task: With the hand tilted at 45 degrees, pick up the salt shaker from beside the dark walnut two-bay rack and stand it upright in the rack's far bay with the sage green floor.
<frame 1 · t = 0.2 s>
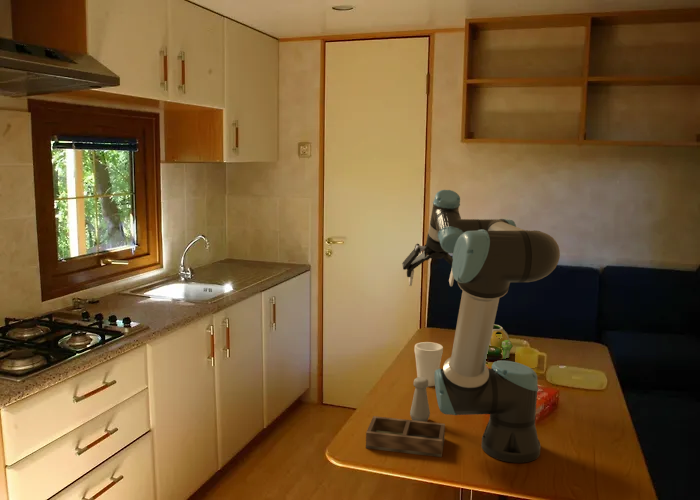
hand: (430, 283, 204), 35 cm above the table, tool tilted 35°, fingers open, 13 cm apart
foam cup: (427, 383, 210), on the table
turtle holder: (494, 358, 236), on the table
rack: (405, 443, 167), on the table
salt shaker: (419, 421, 181), on the table
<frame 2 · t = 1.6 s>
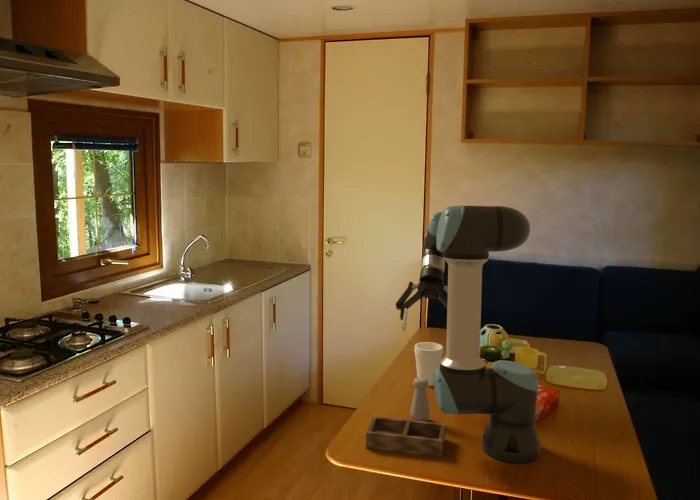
hand: (425, 330, 187), 24 cm above the table, tool tilted 45°, fingers open, 13 cm apart
nothing on the table moved.
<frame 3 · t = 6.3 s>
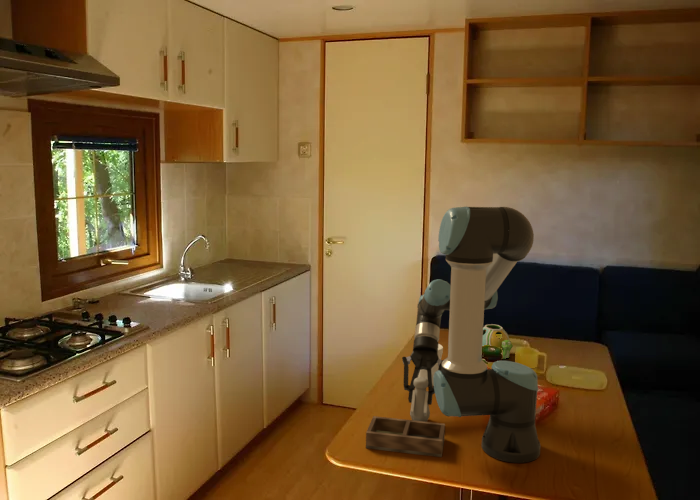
hand: (418, 413, 176), 4 cm above the table, tool tilted 45°, fingers closed on salt shaker, 3 cm apart
salt shaker: (419, 421, 181), on the table, touching gripper
everything else where it was.
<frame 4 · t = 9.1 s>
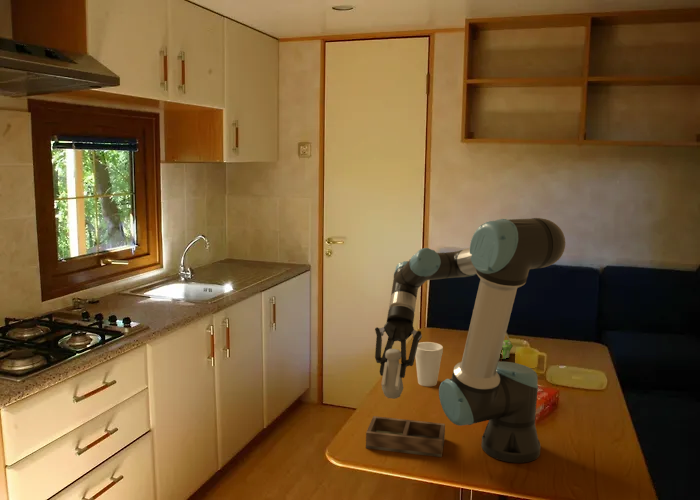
hand: (390, 387, 164), 16 cm above the table, tool tilted 45°, fingers closed on salt shaker, 3 cm apart
salt shaker: (392, 396, 168), point 12 cm above the table, touching gripper
everything else where it was.
when the fingers open (6 cm above the table, at t = 12.0 s): salt shaker drops 1 cm, resting on rack.
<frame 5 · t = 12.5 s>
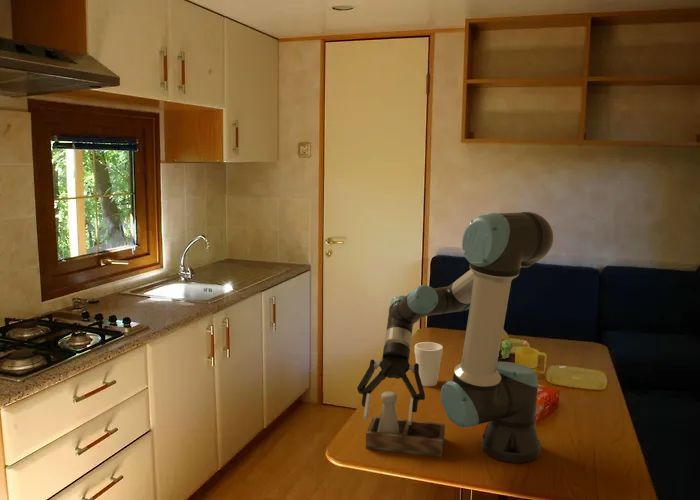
hand: (387, 420, 164), 7 cm above the table, tool tilted 45°, fingers open, 11 cm apart
salt shaker: (388, 439, 167), point 1 cm above the table, touching rack
everything else where it was.
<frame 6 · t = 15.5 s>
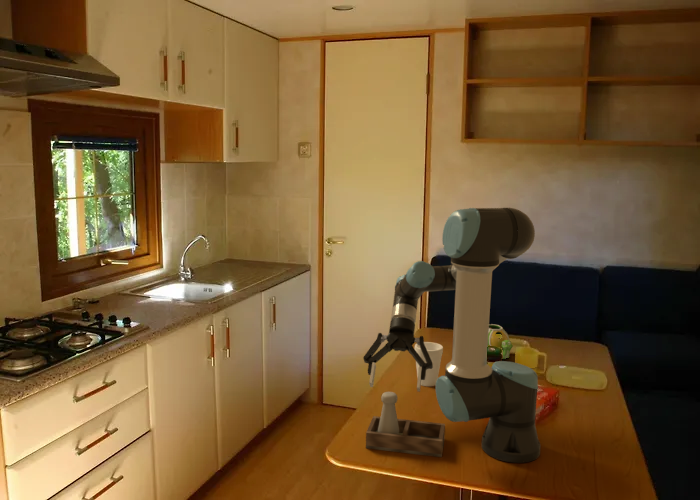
hand: (394, 387, 175), 12 cm above the table, tool tilted 45°, fingers open, 13 cm apart
nothing on the table moved.
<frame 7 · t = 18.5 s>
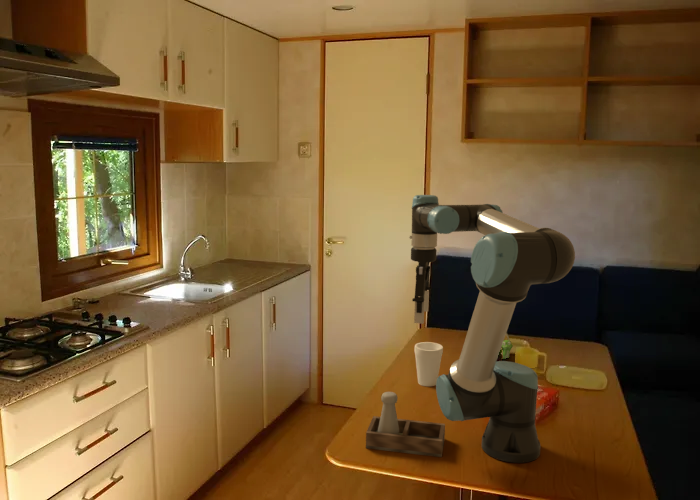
hand: (421, 317, 186), 29 cm above the table, tool pointing down, fingers open, 13 cm apart
nothing on the table moved.
at the end: salt shaker 0.4 cm from the target spot on the rack, point 0.7 cm above the rack's base; salt shaker tilted 0°; the gripper is holding nothing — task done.
